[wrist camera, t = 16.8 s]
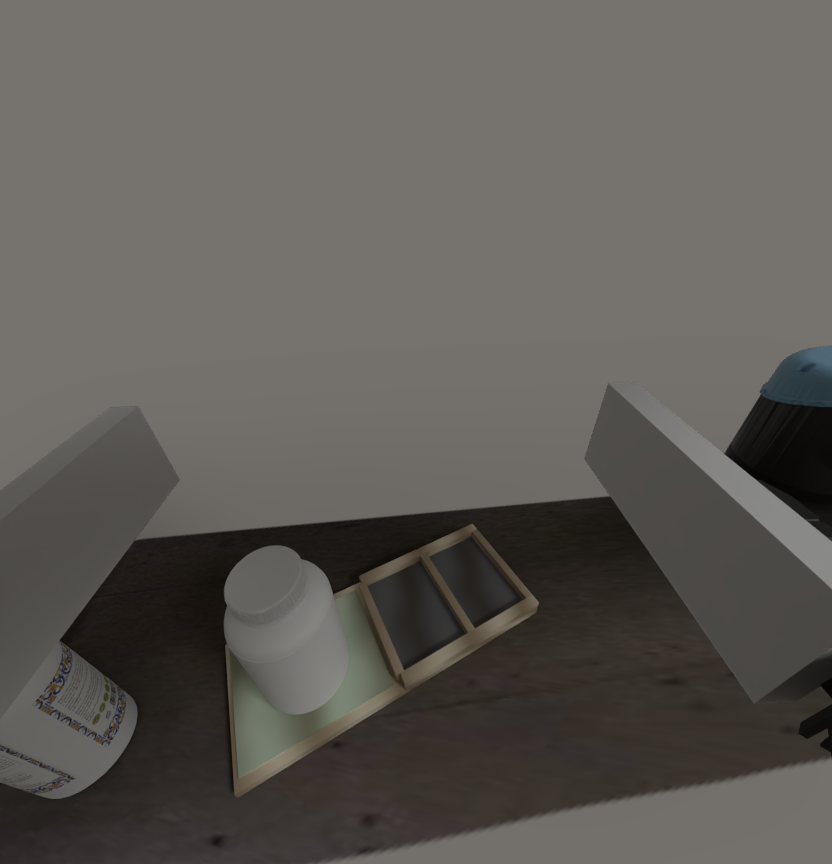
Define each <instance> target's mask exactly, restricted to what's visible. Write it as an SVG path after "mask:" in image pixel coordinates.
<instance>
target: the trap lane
mask: <svg viewBox="0 0 832 864" xmlns="http://www.w3.org/2000/svg"><path fill="white" fill-rule="evenodd" d="M359 579H360V582H359V583H357V584H355V585H353V586H351V587H349V588H346V589H344V590H342V591H340V592H338V593H336V594H334V595H333V596H334V599H335V602H336V606H337V609H338V613H339V616H340V619H341V623H342V626H343V629H344V633H345V636H346V639H347V643H348V649H349V662H348V668H347V671H346V675H345V677H344V679H343V682H342V684H341V685H340V687H339V689H338V690H337V691H336V693H335V694H334V695H333V696H332V697H331V698H330V699H329V700H328V701H327V702H326V703H325V704H324V705H322V706H321V707H319V708H317V709H316V710H314V711H311V712H308V713H305V714H299V715H292V714H287V713H284V712H281V711H279V710H278V709H276V708H275V707H274V706H272V705H271V704H270V703H269V701H268V700H267V699H266V697H265V696H264V695H263V693H262V692H261V690H260V689H259V688H258V686H257V685H256V684H255V682H254V681H253V680H252V678H251V677H250V676H249V674H248V673H247V671H246V670H245V669H244V667H243V666H242V665H241V663H240V662H239V661H238V659H237V658H236V657H235V655H234V654H233V652H232V651H231V649H230V648H229V646H228V644H227V645H225V649H226V665H227V681H228V698H229V714H230V730H231V747H232V763H233V779H234V795H235V796H236V797H240V796H241V795H243V794H245V793H246V792H248V791H249V790H251V789H253V788H254V787H256V786H257V785H259V784H261V783H262V782H264V781H265V780H267V779H269V778H270V777H272V776H274V775H275V774H277V773H278V772H280V771H282V770H283V769H285V768H286V767H288V766H290V765H291V764H293V763H294V762H296V761H298V760H299V759H301V758H303V757H304V756H306V755H307V754H309V753H311V752H312V751H314V750H315V749H317V748H319V747H320V746H322V745H323V744H325V743H327V742H328V741H330V740H332V739H333V738H335V737H336V736H338V735H340V734H341V733H343V732H344V731H346V730H348V729H349V728H351V727H352V726H354V725H356V724H357V723H359V722H361V721H362V720H364V719H365V718H367V717H369V716H370V715H372V714H373V713H375V712H377V711H378V710H380V709H381V708H383V707H385V706H386V705H388V704H390V703H391V702H393V701H394V700H396V699H398V698H399V697H401V696H402V695H404V694H406V693H407V692H409V691H410V690H412V689H414V688H415V687H417V686H419V685H420V684H422V683H423V682H425V681H427V680H428V679H430V678H431V677H433V676H435V675H436V674H438V673H439V672H441V671H443V670H444V669H446V668H448V667H449V666H451V665H452V664H454V663H456V662H457V661H459V660H460V659H462V658H464V657H465V656H467V655H468V654H470V653H472V652H473V651H475V650H477V649H478V648H480V647H481V646H483V645H485V644H486V643H488V642H489V641H491V640H493V639H494V638H496V637H497V636H499V635H501V634H502V633H504V632H506V631H507V630H509V629H510V628H512V627H514V626H515V625H517V624H518V623H520V622H522V621H523V620H525V619H527V618H528V617H530V616H531V615H533V614H535V613H536V611H537V607H538V604H539V602H538V601H537V600H536V598H535V597H534V596H533V595H532V594H531V593H530V591H529V590H528V589H527V588H526V587H525V585H524V584H523V583H522V582H521V581H520V579H519V578H518V577H517V576H516V575H515V574H514V572H513V571H512V570H511V569H510V568H509V566H508V565H507V564H506V563H505V562H504V560H503V559H502V558H501V557H500V556H499V555H498V553H497V552H496V551H495V550H494V549H493V547H492V546H491V545H490V544H489V543H488V541H487V540H486V539H485V538H484V537H483V536H482V534H481V533H480V532H479V531H478V530H477V528H476V527H475V526H474V525H473V524H471V525H469V526H466V527H464V528H462V529H460V530H458V531H456V532H453V533H451V534H449V535H447V536H445V537H442V538H440V539H438V540H436V541H434V542H432V543H429V544H427V545H425V546H423V547H421V548H419V549H416V550H414V551H412V552H410V553H408V554H406V555H403V556H401V557H399V558H397V559H395V560H393V561H390V562H388V563H386V564H384V565H382V566H379V567H377V568H375V569H373V570H371V571H369V572H366V573H364V574H362V575H360V576H359Z"/></svg>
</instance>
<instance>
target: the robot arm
mask: <svg viewBox="0 0 832 864" xmlns="http://www.w3.org/2000/svg"><path fill="white" fill-rule="evenodd" d="M760 393H761V395H760V397H759V398H758V400H757V402H756V403H755V405H754V407H753V408H752V410H751V411H750V413H749V414H748V416H747V418H746V420H745V421H744V423H743V424H742V426H741V427H740V429H739V431H738V432H737V434H736V435H735V437H734V439H733V441H732V442H731V444H730V445H729V447H728V449H727V450H726V452H725V453H724V454H723V453H722V452H721V451H720V450H718V449H717V448H716V447H715V446H714V445H712V444H711V443H710V442H709V441H707V440H706V439H705V438H704V437H702V436H701V435H700V434H699V433H698V432H696V431H695V430H694V429H693V428H691V427H690V426H689V425H688V424H686V423H685V422H684V421H683V420H681V419H680V418H679V417H678V416H677V415H675V414H674V413H673V412H672V411H670V410H669V409H668V408H667V407H665V406H664V405H663V404H662V403H661V402H659V401H658V400H657V399H656V398H654V397H653V396H652V395H651V394H649V393H648V392H647V391H646V390H645V389H643V388H642V387H641V386H640V385H638V384H637V383H636V382H620V383H608V386H607V389H606V392H605V395H604V398H603V401H602V405H601V408H600V411H599V414H598V417H597V421H596V424H595V427H594V430H593V433H592V436H591V440H590V443H589V446H588V450H587V452H586V456H585V460H586V462H587V463H588V465H589V466H590V468H591V469H592V470H593V472H594V473H595V475H596V476H597V478H598V479H599V480H600V482H601V483H602V485H603V486H604V488H605V489H606V491H607V492H608V493H609V495H610V496H611V498H612V499H613V501H614V502H615V504H616V505H617V507H618V508H619V509H620V511H621V512H622V514H623V515H624V517H625V518H626V520H627V521H628V522H629V524H630V525H631V527H632V528H633V530H634V531H635V533H636V534H637V535H638V537H639V538H640V540H641V541H642V543H643V544H644V546H645V547H646V548H647V550H648V551H649V553H650V554H651V556H652V557H653V559H654V560H655V561H656V563H657V564H658V566H659V567H660V569H661V570H662V572H663V573H664V574H665V576H666V577H667V579H668V580H669V582H670V583H671V585H672V586H673V587H674V589H675V590H676V592H677V593H678V595H679V596H680V598H681V599H682V600H683V602H684V603H685V605H686V606H687V608H688V609H689V611H690V612H691V613H692V615H693V616H694V618H695V619H696V621H697V622H698V624H699V625H700V626H701V628H702V629H703V631H704V632H705V634H706V635H707V637H708V638H709V639H710V641H711V642H712V644H713V645H714V647H715V648H716V650H717V651H718V652H719V654H720V655H721V657H722V658H723V660H724V661H725V663H726V664H727V665H728V667H729V668H730V670H731V671H732V673H733V674H734V676H735V677H736V679H737V680H738V681H739V683H740V684H741V686H742V687H743V689H744V690H745V692H746V693H747V694H748V696H749V697H750V699H751V700H752V702H753V703H754V704H756V703H772V702H787V701H798V700H800V699H801V698H803V697H804V696H806V695H808V694H809V693H811V692H812V691H814V690H815V689H817V688H818V687H820V686H822V688H823V689H824V690H825V691H826V692H827V693H828V695H829V696H830V697H831V698H832V346H825V347H824V346H823V347H815V348H809V349H805V350H802V351H799V352H796V353H794V354H792V355H790V356H788V357H787V358H786V359H784V360H783V361H782V362H781V364H780V365H779V366H778V368H777V369H776V371H775V372H774V374H773V375H772V377H771V378H770V379H769V381H768V382H767V383H765V384H764V385H763V386H762V388H761V390H760ZM179 480H180V479H179V477H178V476H177V474H176V472H175V470H174V469H173V467H172V465H171V464H170V462H169V460H168V458H167V456H166V455H165V453H164V451H163V449H162V447H161V446H160V444H159V442H158V440H157V439H156V437H155V435H154V433H153V431H152V430H151V428H150V426H149V425H148V423H147V421H146V419H145V417H144V415H143V414H142V412H141V410H140V408H139V407H138V406H127V407H110V408H109V409H107V410H106V411H105V412H103V413H102V414H101V415H99V416H98V417H97V418H95V419H94V420H93V421H91V422H90V423H89V424H87V425H86V426H85V427H84V428H82V429H81V430H79V431H78V432H77V433H76V434H74V435H73V436H72V437H71V438H69V439H68V440H67V441H65V442H64V443H62V444H61V445H60V446H59V447H57V448H56V449H54V450H53V451H52V452H50V453H49V454H48V455H47V456H45V457H44V458H42V459H41V460H40V461H39V462H37V463H36V464H35V465H33V466H32V467H31V468H29V469H28V470H27V471H25V472H24V473H23V474H21V475H20V476H19V477H17V478H16V479H15V480H14V481H12V482H11V483H10V484H8V485H7V486H5V487H4V488H3V489H2V490H0V719H1V718H2V716H3V715H4V714H5V712H6V711H7V710H8V708H9V707H10V706H11V704H12V703H13V702H14V700H15V699H16V698H17V696H18V695H19V694H20V692H21V691H22V690H23V688H24V687H25V686H26V684H27V683H28V682H29V680H30V679H31V678H32V676H33V675H34V674H35V672H36V671H37V670H38V668H39V667H40V666H41V664H42V663H43V662H44V660H45V659H46V658H47V656H48V655H49V654H50V652H51V651H52V650H53V648H54V647H55V646H56V644H57V643H58V642H59V640H60V639H61V638H62V636H63V635H64V634H65V632H66V631H67V630H68V628H69V627H70V626H71V624H72V623H73V622H74V620H75V619H76V618H77V616H78V615H79V614H80V612H81V611H82V610H83V608H84V607H85V606H86V604H87V603H88V602H89V600H90V599H91V598H92V596H93V595H94V594H95V592H96V591H97V590H98V588H99V587H100V586H101V584H102V583H103V582H104V580H105V579H106V578H107V576H108V575H109V574H110V572H111V571H112V570H113V568H114V567H115V566H116V564H117V563H118V562H119V560H120V559H121V558H122V556H123V555H124V554H125V552H126V551H127V550H128V548H129V547H130V546H131V544H132V543H133V542H134V540H135V539H136V538H137V536H138V535H139V534H140V532H141V531H142V530H143V528H144V527H145V526H146V524H147V523H148V522H149V520H150V519H151V518H152V516H153V515H154V514H155V512H156V511H157V510H158V508H159V507H160V506H161V504H162V503H163V502H164V500H165V499H166V498H167V496H168V495H169V493H171V491H172V490H173V489H174V487H175V486H176V485H177V483H178V482H179ZM827 728H828V734H829V737H828V738H826V739H825V740H824V741H823V742H822V743H821V744H820V746H821V747H823V748H824V749H826V750H828V751H829V752H831V756H832V705H830V706H828V707H826V708H825V709H823V710H821V711H819V712H818V713H816V714H814V715H813V716H811V717H809V718H807V719H806V720H804V721H802V722H801V724H800V729H799V734H800V735H802V736H803V737H805V738H807V739H808V738H810V737H812V736H813V735H815V734H817V733H819V732H821V731H823V730H825V729H827Z"/></svg>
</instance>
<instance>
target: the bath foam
mask: <svg viewBox="0 0 832 864" xmlns="http://www.w3.org/2000/svg"><path fill="white" fill-rule="evenodd" d="M136 722H137V706H136V703H135V701H134V699H133V698H132V697H131V696H130V695H129V694H127V693H126V692H125V691H124V690H122V689H121V688H120V687H119V686H118V685H116V684H115V683H114V682H113V681H111V680H110V679H109V678H107V677H106V676H105V675H104V674H102V673H101V672H100V671H98V670H97V669H96V668H95V667H93V666H92V665H91V664H89V663H88V662H87V661H86V660H84V659H83V658H82V657H80V656H79V655H78V654H77V653H75V652H74V651H73V650H72V649H70V648H69V647H68V646H66V645H65V644H64V643H63V642H61V641H60V640H59V642H58V643H57V644H56V646H55V647H54V648H53V650H52V651H51V652H50V654H49V655H48V656H47V658H46V659H45V660H44V662H43V663H42V664H41V666H40V667H39V668H38V670H37V671H36V672H35V674H34V675H33V676H32V678H31V679H30V680H29V682H28V683H27V684H26V686H25V687H24V688H23V690H22V691H21V692H20V694H19V695H18V696H17V698H16V699H15V700H14V702H13V703H12V704H11V706H10V707H9V708H8V710H7V711H6V712H5V714H4V715H3V716H2V718H1V719H0V783H3V784H6V785H9V786H12V787H15V788H18V789H21V790H23V791H26V792H29V793H33V794H36V795H39V796H42V797H45V798H50V799H60V798H65V797H68V796H71V795H74V794H76V793H78V792H80V791H82V790H84V789H85V788H87V787H88V786H90V785H91V784H93V783H94V782H95V781H97V780H98V779H99V778H100V777H101V776H103V775H104V774H105V773H106V772H107V771H108V770H109V769H110V768H111V767H112V765H113V764H114V763H115V762H116V761H117V760H118V758H119V757H120V756H121V754H122V753H123V751H124V750H125V748H126V747H127V745H128V743H129V741H130V739H131V737H132V735H133V732H134V730H135V726H136Z"/></svg>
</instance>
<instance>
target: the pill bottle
mask: <svg viewBox="0 0 832 864" xmlns="http://www.w3.org/2000/svg"><path fill="white" fill-rule="evenodd" d="M224 599H225V602H226V604H227V608H226V612H225V616H224V635H225V639H226V642H227V644H228V646H229V648H230V649H231V651H232V652H233V654H234V655H235V657H236V658H237V659H238V661H239V662H240V663H241V665H242V666H243V667H244V669H245V670H246V671H247V673H248V674H249V676H250V677H251V678H252V680H253V681H254V682H255V684H256V685H257V686H258V688H259V689H260V690H261V692H262V693H263V695H264V696H265V697H266V699H267V700H268V701H269V703H270V704H271V705H272V706H274V707H275V708H276V709H278V710H279V711H281V712H284V713H287V714H292V715H299V714H305V713H308V712H311V711H314V710H316V709H317V708H319V707H321V706H322V705H324V704H325V703H326V702H327V701H328V700H329V699H330V698H331V697H332V696H333V695H334V694H335V693H336V691H337V690H338V689H339V687H340V685H341V684H342V682H343V679H344V677H345V675H346V671H347V668H348V662H349V649H348V643H347V639H346V636H345V633H344V629H343V626H342V623H341V619H340V616H339V613H338V609H337V606H336V602H335V599H334V596H333V592H332V589H331V586H330V583H329V581H328V579H327V577H326V575H325V574H324V573H323V571H322V570H321V569H319V568H318V567H317V566H316V565H314V564H313V563H311V562H309V561H306V560H302V559H301V558H300V556H299V555H298V554H297V553H296V552H295V551H294V550H292V549H290V548H288V547H285V546H277V545H275V546H267V547H263V548H260V549H258V550H256V551H253V552H252V553H250V554H248V555H247V556H245V557H244V558H243V559H242V560H240V561H239V562H238V563H237V564H236V566H235V567H234V568H233V569H232V571H231V572H230V574H229V576H228V578H227V580H226V583H225V586H224Z"/></svg>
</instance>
